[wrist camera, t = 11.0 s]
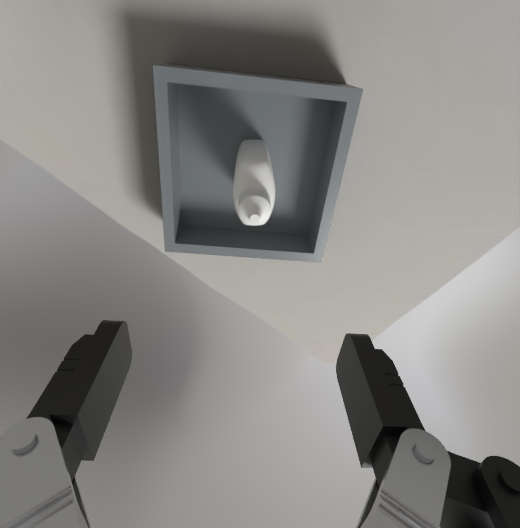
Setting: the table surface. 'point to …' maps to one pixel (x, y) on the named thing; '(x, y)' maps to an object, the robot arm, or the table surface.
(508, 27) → the table surface
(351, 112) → the box
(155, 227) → the table surface
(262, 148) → the eye dropper bottle
